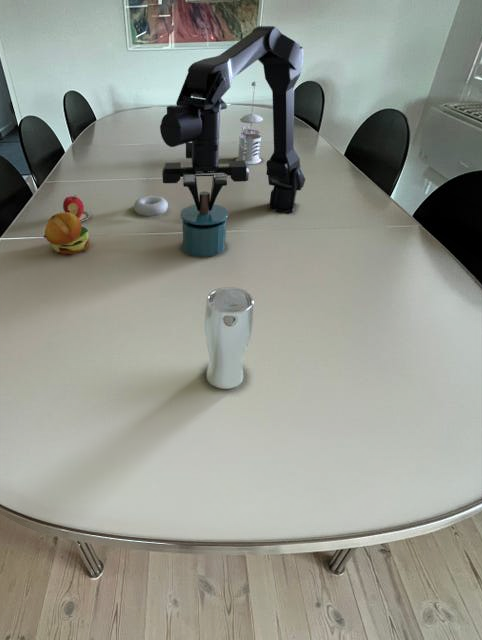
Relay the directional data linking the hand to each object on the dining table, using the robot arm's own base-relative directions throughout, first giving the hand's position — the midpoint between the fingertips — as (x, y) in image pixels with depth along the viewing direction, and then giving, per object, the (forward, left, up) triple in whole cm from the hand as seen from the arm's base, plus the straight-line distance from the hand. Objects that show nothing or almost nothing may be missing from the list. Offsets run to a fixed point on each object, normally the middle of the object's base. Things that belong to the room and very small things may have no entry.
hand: (204, 210), depth 95 cm
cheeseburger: (+32, +11, -10) cm, 35 cm away
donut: (+22, -17, -10) cm, 29 cm away
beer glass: (-18, +43, -10) cm, 48 cm away
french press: (+7, -73, -10) cm, 74 cm away
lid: (0, 0, -1) cm, 1 cm away
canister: (0, 0, -9) cm, 9 cm away
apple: (+41, -6, -10) cm, 43 cm away
